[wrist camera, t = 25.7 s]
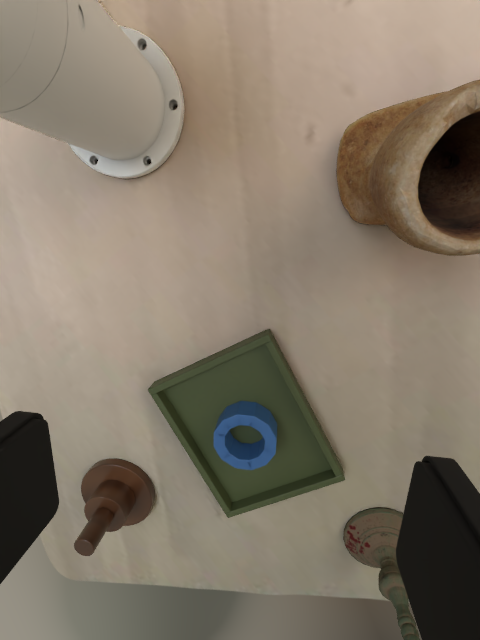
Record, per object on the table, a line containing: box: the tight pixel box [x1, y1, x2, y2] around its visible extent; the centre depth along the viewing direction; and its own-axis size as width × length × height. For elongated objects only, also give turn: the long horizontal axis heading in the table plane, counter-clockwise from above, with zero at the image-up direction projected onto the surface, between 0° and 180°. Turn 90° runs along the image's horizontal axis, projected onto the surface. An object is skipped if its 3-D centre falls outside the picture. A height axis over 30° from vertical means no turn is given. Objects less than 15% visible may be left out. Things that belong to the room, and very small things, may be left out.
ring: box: [214, 401, 277, 470], centre depth 38 cm, size 7×7×3 cm
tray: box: [148, 329, 345, 518], centre depth 39 cm, size 20×16×2 cm
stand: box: [74, 459, 155, 556], centre depth 41 cm, size 10×10×9 cm
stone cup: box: [337, 80, 480, 255], centre depth 24 cm, size 15×12×15 cm
